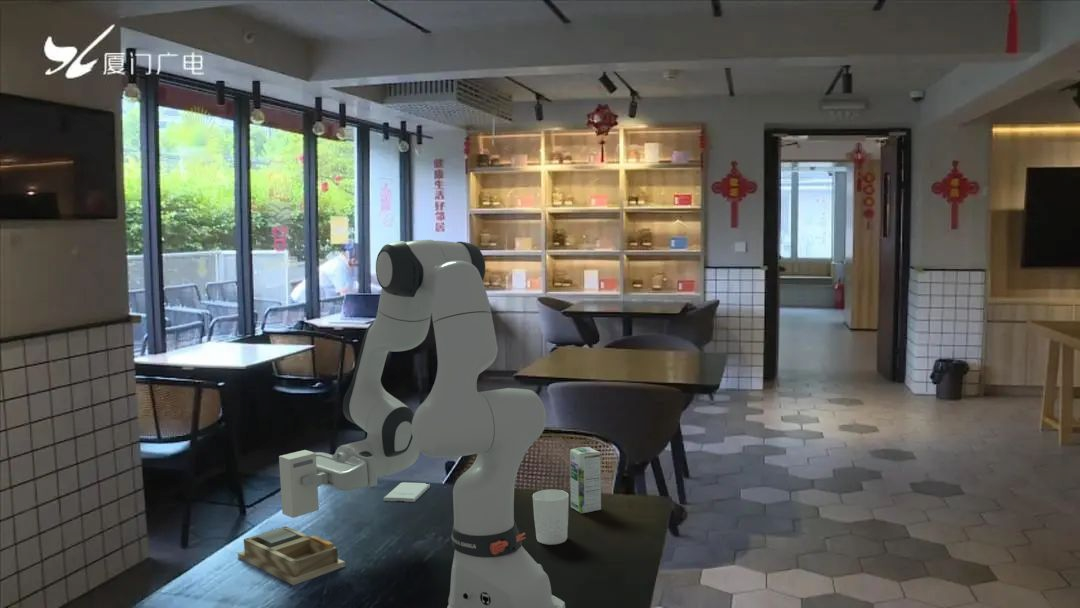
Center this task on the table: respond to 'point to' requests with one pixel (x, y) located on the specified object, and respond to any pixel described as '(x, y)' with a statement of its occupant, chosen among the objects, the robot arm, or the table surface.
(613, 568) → the table surface
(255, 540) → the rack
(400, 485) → the external hard drive
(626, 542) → the table surface
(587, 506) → the syrup box
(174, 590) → the table surface
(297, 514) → the white carton
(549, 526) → the white cup
